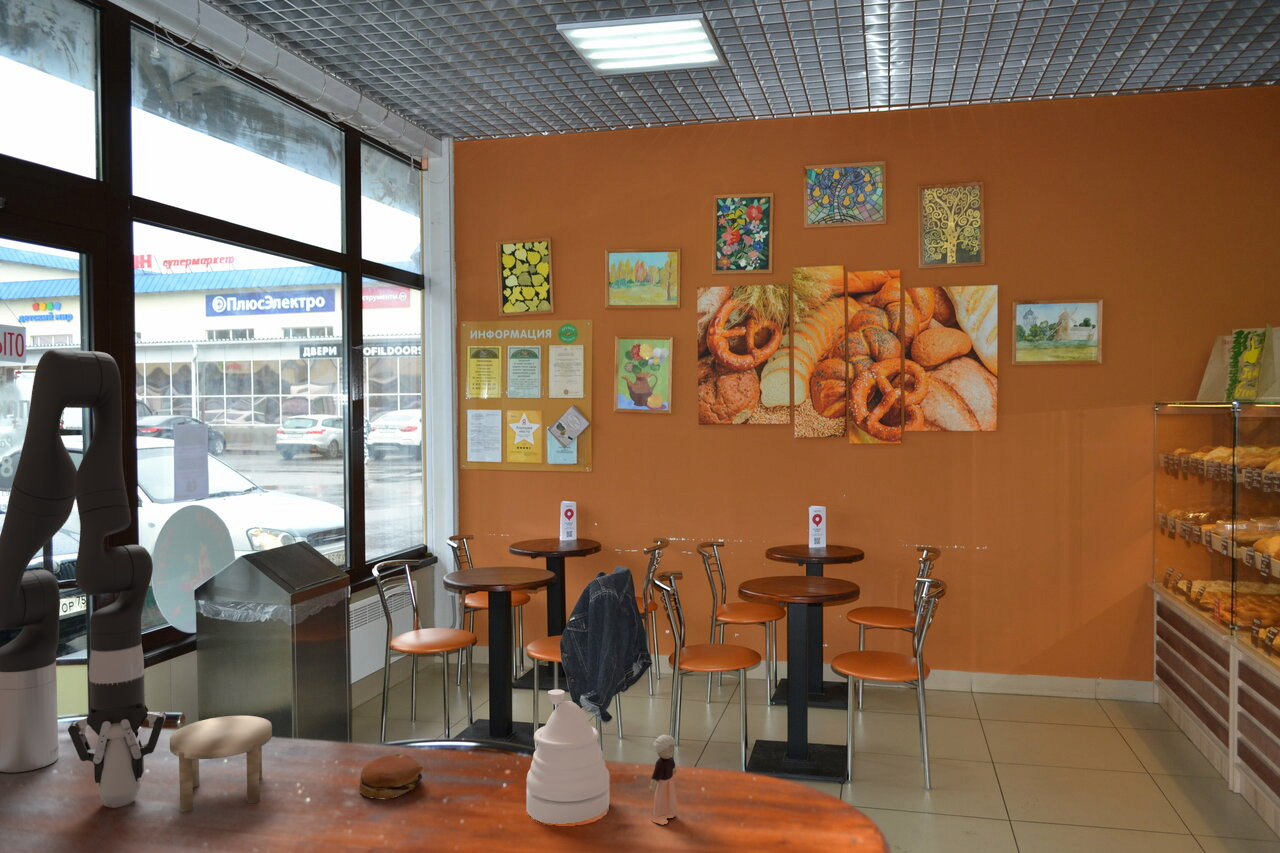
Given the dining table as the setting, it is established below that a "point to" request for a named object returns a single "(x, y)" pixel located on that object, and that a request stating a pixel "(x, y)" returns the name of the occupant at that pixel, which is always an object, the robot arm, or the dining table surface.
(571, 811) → the honey pot
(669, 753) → the grandmother figurine
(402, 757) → the burger
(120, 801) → the salt shaker
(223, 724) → the stool
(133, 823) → the dining table surface
